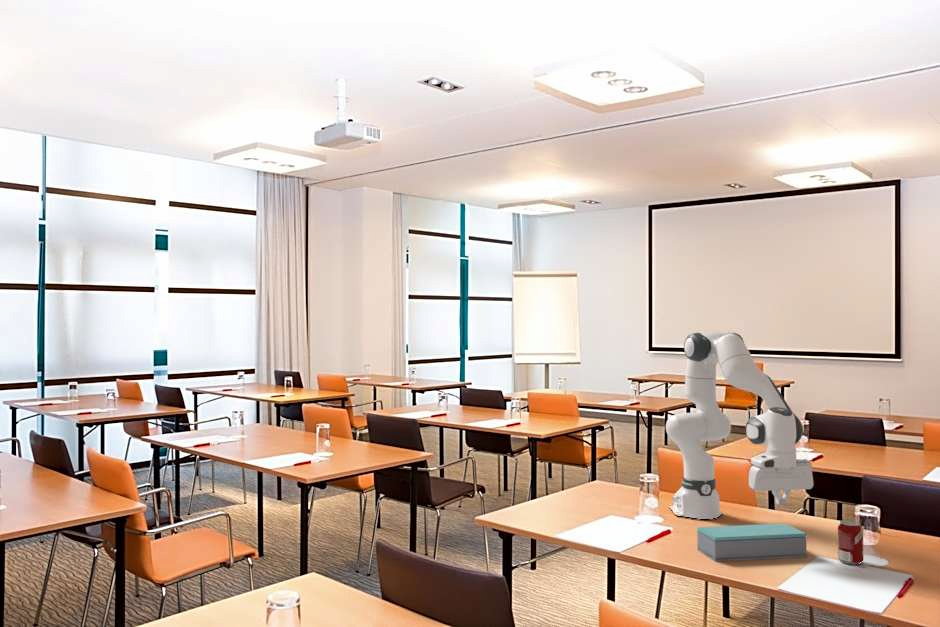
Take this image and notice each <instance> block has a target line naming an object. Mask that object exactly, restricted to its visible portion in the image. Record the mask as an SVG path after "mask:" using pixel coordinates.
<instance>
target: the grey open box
mask: <svg viewBox="0 0 940 627" xmlns="http://www.w3.org/2000/svg"><path fill="white" fill-rule="evenodd" d="M696 536H697V551H699V552H700V551H701V552H700V553H702V554H703V555H705V557H708V558H709V559H711V560H712V561H714V562H729V561H731V562H732V561H750V560H752V561H753V560H769V559H770V560H773V559H787V558H788V559H789V558H794V557H795V558H807V557H808V556H807V554H808V553H807V536H806V537H788V538H766V539H745V540H723V541H714V540H713V539H711V538H709V537H708V536H706V535H704V534H703V533H701V532H699V531H698V530H697V534H696Z"/></svg>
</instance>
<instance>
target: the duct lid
mask: <svg viewBox="0 0 940 627" xmlns="http://www.w3.org/2000/svg"><path fill="white" fill-rule="evenodd" d="M697 531H699V532H701V533H703V534H704V535H706V536H708V537H709V538H711V539H713V540H714V541H723V540H745V539H766V538H788V537H806V538H807V532H804V531H802V530H800V529H797V528H795V527H793V526H791V525H788V524H787V523H785V522H784V523H767V524H765V523H764V524H763V523H762V524H742V525H740V524H739V525H721V526H720V525H717V526H697Z"/></svg>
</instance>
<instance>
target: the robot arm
mask: <svg viewBox="0 0 940 627" xmlns="http://www.w3.org/2000/svg"><path fill="white" fill-rule="evenodd" d="M683 351H684V354H685V356H686V357H687V359H686V366H685V376H684V380H685V381H684V395H685V397H686V398H687V400H688V401H690V402H691V403H693V404H694V405H695V407H696V408H695V409H696V412H681V413H676V414H673V415H670V416H669V417H668V419H667V420H666V423H665V432H666V434H667V436H668V438H670V440H671V441H672V442H674V443H675V444H676V445H677V446H678V448H679V450H680V452H681V455H682V456H681V457H682V463H683V477H681V478H682V479H681V487H680V488H679V489H678V490H677V491H676V492H675V493H674V495H673V496H672V502H673V504H674V505H673V506H670V508H671V509H672V510H673V512H674V513H675V514H676V515H681V516H687V517H692V518H698V519H697V520H700V519H710V520H714V519H713V518H716V519H718V518H717V517H719V516H720V515H721V514H723V515H724V512H723V511H722V510H721V505H720V495H719V492H718V491H716V487H717V486H716V485H717V482H716V478H715V460H714V457H713V456H712V455H711V454H710V453H708V452H707V451H705V450H704V449H703V446H702V442H717V441H719V440H723V439H725V438H728V437H729V435H730V433H731V430H732V424H731V421H730V419H729V417H728V416H727V415H726V414H725V413H724V412H723V411H722V410H721V408H720V407H719V404H718V401H717V394H716V393H717V392H716V391H717V390H716V386H717V385H716V383H717V381H716V380H717V364H718V365H719V368H720V371H721V372H722V376H723V377H724V379H725V380H726V382H727V383H728V384H729V385H730V386H732V387H733V388H736V389H739V390H744V391H746V392H749V393H753V394H755V395H756V396H759V397H761V399H762V400H763V401H764V402H765V403H766V405H767V407H768V409H767V410H766V411H765V412H764V413H761V414H759V415H754V416H750V417H749V419H748V420H747V421H746V424H745V427H744V428H745V436H746V438H747V439H748V440H749V441H750V443H752V444H753V445H757V446H765V447H766V449H765V452H764V453H762V454H758V455H756V456H753V457H752V458H751V459H750V463H751V465H752V466H751V467H749V473H748V487H749V488H750V489H751V490H752V491H755V492H762V491H764V492H765V491H766V492H767V491H769V492H770V491H771V493H772V495H773V497H774V498H775V500H774V501H775V504H776V505H787V504H788V498H789V497H790V495H791V494H792V493H791V491H792V490H793V491H797V490H811V489H813V487H814V477H813V464H812V462H811V461H810V460H808V459H807V458H806V459H805V458H804V459H797V448H796V444H798V443H799V442H800V440H801V439H802V437H803V434H804V426H803V424H802V422H801V420H800V419H799V418H798V416H797V415H796V414H795V413H794V412H793V411H792V408H790V406H789V404H788V403H787V401H786V400H785V398H784V396H783V395H782V393H781V392H780V390H779V389H778V387H777V385H776V383H775V382H774V381H773V379H771V377H770V376H769V375H767V374H766V373H765V372H763V371H762V369H761V368H759V366H758V365H757V364H756V363H755V360H754V359H753V357H752V355H751V352H750V350H749V349H748V347H747V346H746V344H745V341H744V338H743V337H742V336H741V335H740V334H739V333H735V332H731V331H728V332H726V331H711V332H709V331H708V332H707V331H706V332H693V333H690V334H688V335H687V336H686V338H685V340H684V342H683ZM781 491H782V492H783V493H782V494H783V495H782V497H781V496H780V495H779V494H780V492H781ZM721 516H722V515H721ZM721 516H720V517H721ZM720 517H719V518H720Z"/></svg>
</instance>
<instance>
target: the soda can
mask: <svg viewBox="0 0 940 627" xmlns="http://www.w3.org/2000/svg"><path fill="white" fill-rule="evenodd" d="M837 544H838V545H837V548H838V550H837V551H838V553H837V554H838V555H837V556H838V557H837V558H838V560H839V561H841V563H843V562H844V563H843V564H845V563H848V564H847V565H849V564H859V563H860V562H862V561H863V560H865V559H864V528H862V526H861V522H859V521H856V520H851V519H849V520H848V519H846V520H845V519H844V520H842V519H841V520H840V521H839V525H838V526H837ZM859 565H860V564H859Z"/></svg>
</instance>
